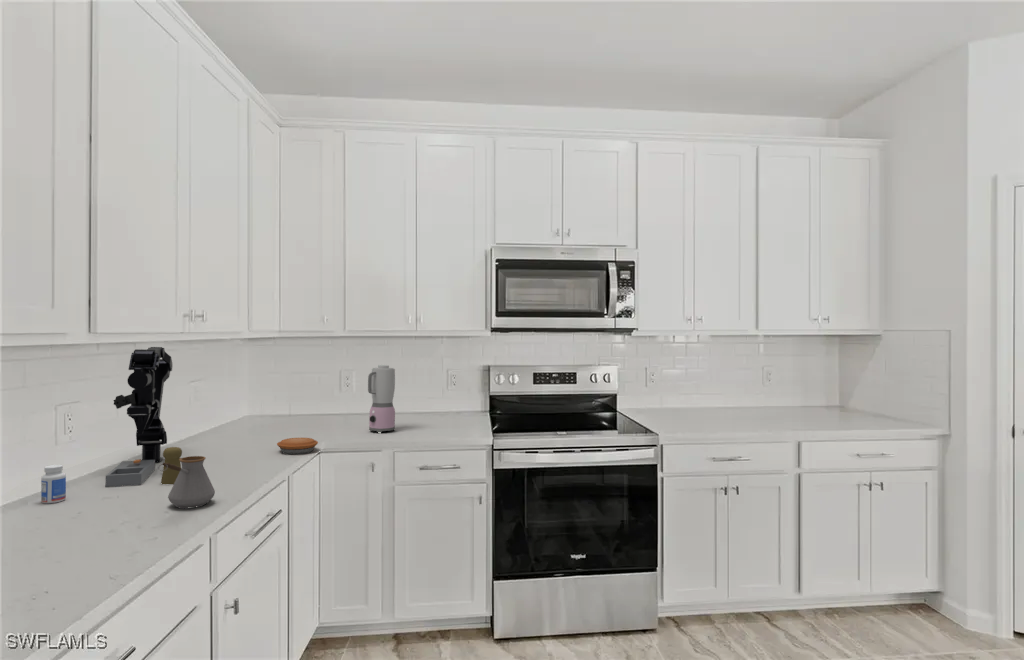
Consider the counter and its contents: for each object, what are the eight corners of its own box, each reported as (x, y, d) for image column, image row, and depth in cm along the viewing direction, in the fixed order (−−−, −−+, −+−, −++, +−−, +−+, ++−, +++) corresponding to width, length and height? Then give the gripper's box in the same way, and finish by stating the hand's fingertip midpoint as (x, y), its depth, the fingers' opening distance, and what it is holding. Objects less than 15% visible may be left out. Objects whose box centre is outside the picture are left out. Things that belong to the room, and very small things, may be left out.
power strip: (122, 471, 198) (122, 459, 198) (154, 469, 201) (154, 457, 201) (105, 487, 179) (105, 473, 179) (141, 484, 182) (141, 471, 182)
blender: (382, 428, 294) (384, 364, 294) (400, 431, 287) (401, 365, 287) (358, 432, 281) (359, 365, 281) (376, 435, 274) (377, 367, 274)
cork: (178, 478, 190) (178, 444, 190) (186, 482, 186) (186, 447, 186) (157, 482, 185) (158, 447, 185) (165, 485, 182) (166, 450, 182)
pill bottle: (68, 497, 167) (69, 463, 167) (61, 503, 162) (62, 467, 162) (45, 499, 165) (46, 464, 165) (37, 504, 160) (38, 468, 160)
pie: (276, 456, 226) (277, 443, 226) (276, 448, 240) (277, 436, 240) (319, 454, 231) (319, 441, 231) (316, 447, 246) (316, 435, 246)
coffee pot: (181, 498, 169) (182, 446, 169) (221, 498, 170) (223, 446, 170) (137, 522, 148) (138, 463, 148) (184, 523, 148) (185, 463, 148)
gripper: (123, 383, 206) (122, 428, 206) (108, 389, 188) (107, 438, 188) (160, 383, 210) (159, 427, 210) (149, 388, 192) (147, 436, 192)
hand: (143, 432), depth 200 cm, fingers open, 9 cm apart
